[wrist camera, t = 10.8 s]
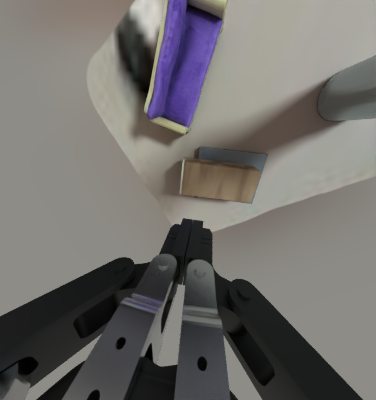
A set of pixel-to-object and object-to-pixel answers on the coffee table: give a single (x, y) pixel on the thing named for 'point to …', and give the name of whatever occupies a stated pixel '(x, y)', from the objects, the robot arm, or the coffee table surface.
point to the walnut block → (218, 180)
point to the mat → (234, 158)
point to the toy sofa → (183, 60)
